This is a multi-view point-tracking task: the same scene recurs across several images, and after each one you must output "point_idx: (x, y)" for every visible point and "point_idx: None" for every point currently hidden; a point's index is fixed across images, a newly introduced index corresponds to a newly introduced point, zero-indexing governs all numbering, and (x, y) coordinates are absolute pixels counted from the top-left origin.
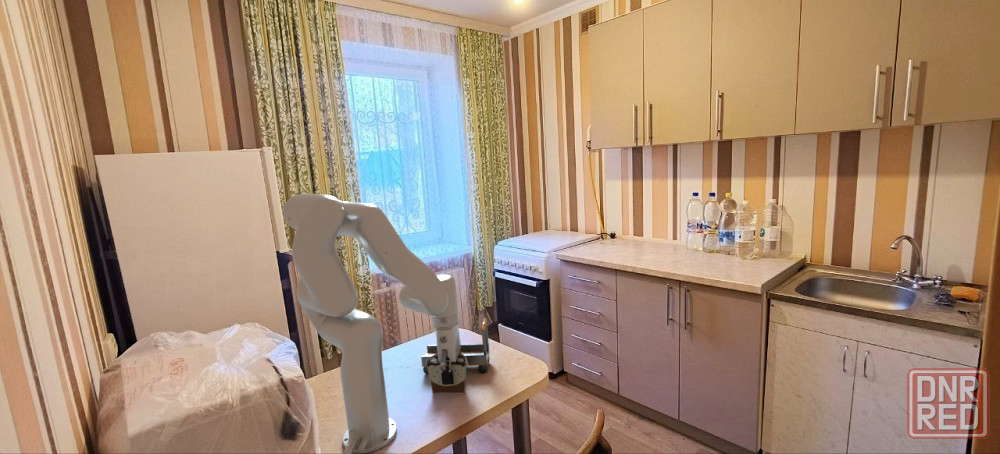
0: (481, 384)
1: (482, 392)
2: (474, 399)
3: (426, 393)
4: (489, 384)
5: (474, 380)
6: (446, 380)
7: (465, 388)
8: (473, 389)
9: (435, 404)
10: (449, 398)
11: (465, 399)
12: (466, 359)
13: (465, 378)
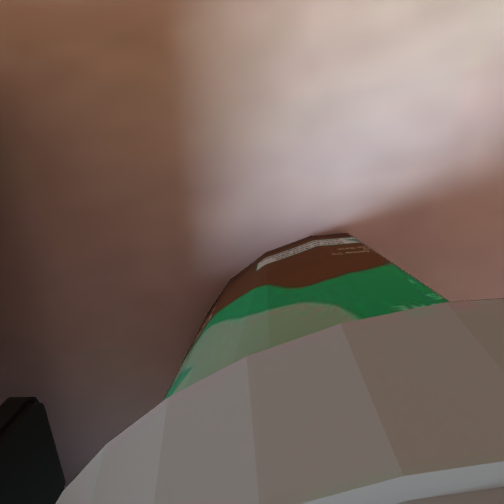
0: (190, 99)
1: (337, 63)
2: (453, 128)
3: None
4: (185, 4)
5: (125, 184)
6: None
7: (324, 241)
8: (280, 167)
9: None
10: None
11: (440, 213)
12: (373, 495)
13: (401, 271)
